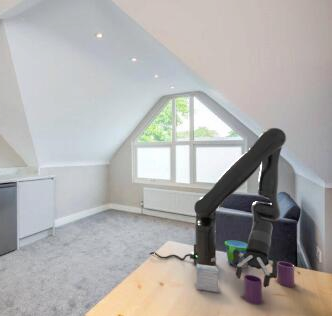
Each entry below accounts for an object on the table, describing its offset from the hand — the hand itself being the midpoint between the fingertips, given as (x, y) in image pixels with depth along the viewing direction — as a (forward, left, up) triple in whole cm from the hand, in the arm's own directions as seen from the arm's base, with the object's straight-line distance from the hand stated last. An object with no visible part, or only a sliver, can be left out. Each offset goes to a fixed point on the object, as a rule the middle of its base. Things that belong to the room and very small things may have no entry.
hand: (251, 281), depth 92 cm
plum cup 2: (+7, +23, -7) cm, 25 cm away
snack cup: (-13, +29, -7) cm, 32 cm away
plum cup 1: (0, 0, -7) cm, 7 cm away
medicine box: (-15, -4, -7) cm, 17 cm away
